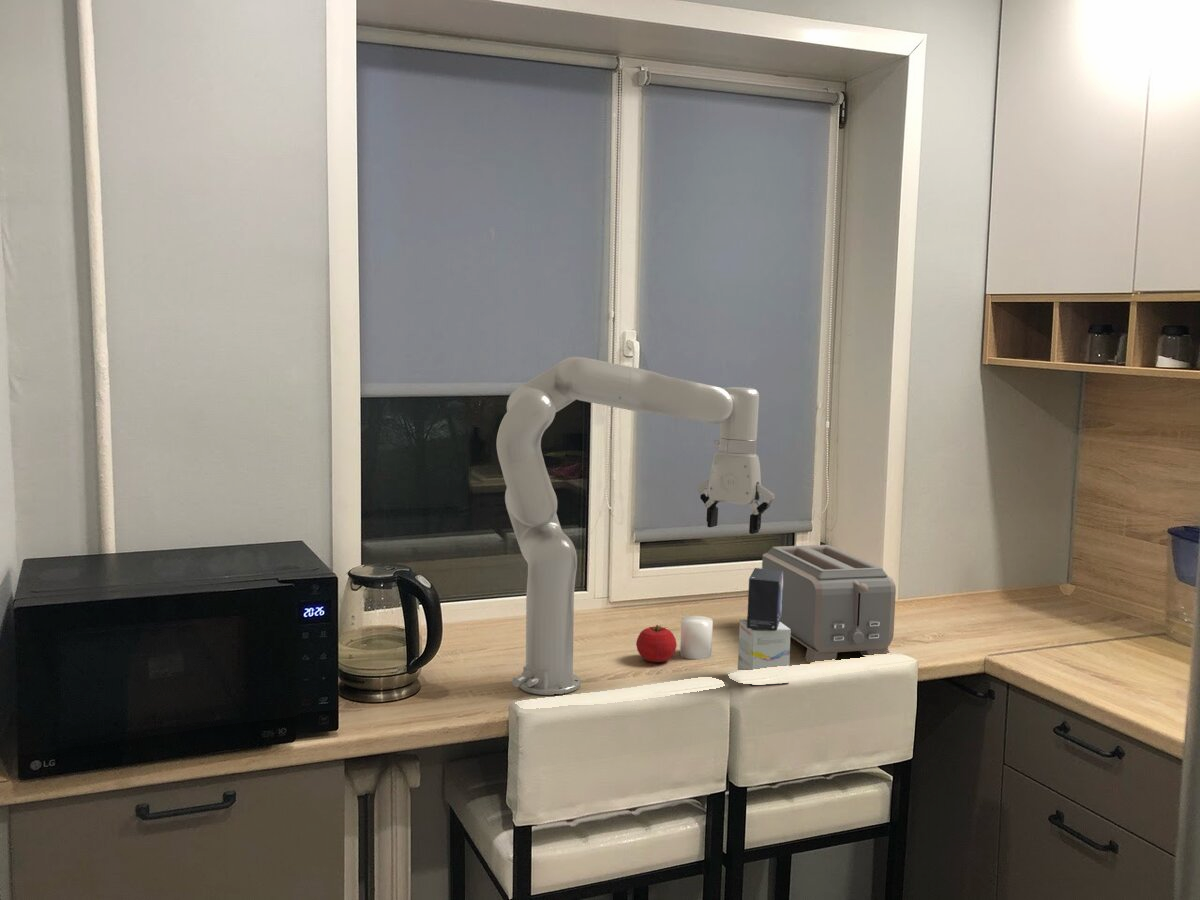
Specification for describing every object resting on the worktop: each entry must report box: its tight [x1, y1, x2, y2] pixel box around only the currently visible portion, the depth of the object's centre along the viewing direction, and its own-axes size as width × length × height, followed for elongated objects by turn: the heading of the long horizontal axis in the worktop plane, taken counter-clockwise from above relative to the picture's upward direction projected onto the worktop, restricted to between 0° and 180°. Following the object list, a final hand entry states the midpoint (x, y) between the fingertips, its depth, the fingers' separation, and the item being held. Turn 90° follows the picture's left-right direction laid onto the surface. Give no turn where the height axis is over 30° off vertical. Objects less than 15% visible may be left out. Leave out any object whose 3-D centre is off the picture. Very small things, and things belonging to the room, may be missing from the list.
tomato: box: [635, 624, 678, 663], centre depth 221 cm, size 9×9×8 cm
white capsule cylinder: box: [679, 615, 714, 661], centre depth 226 cm, size 7×7×8 cm
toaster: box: [761, 544, 897, 663], centre depth 235 cm, size 19×35×20 cm, turn 14°
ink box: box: [737, 619, 791, 670], centre depth 210 cm, size 9×9×12 cm
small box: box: [746, 567, 783, 631], centre depth 209 cm, size 11×6×10 cm, turn 165°
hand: (732, 529), depth 209 cm, fingers open, 9 cm apart
